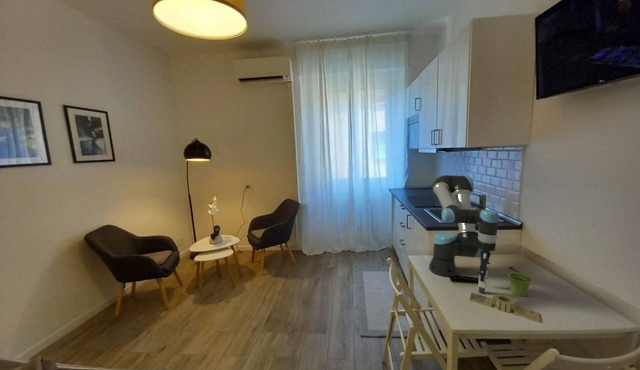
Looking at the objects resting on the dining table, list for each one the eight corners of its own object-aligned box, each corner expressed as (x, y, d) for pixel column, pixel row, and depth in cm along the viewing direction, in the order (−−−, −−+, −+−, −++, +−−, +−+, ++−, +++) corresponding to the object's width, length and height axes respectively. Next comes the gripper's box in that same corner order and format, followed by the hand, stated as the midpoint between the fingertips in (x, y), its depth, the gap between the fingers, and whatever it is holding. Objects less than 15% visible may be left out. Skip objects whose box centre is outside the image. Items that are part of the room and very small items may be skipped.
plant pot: (524, 300, 122) (526, 283, 121) (502, 290, 131) (504, 275, 129) (533, 295, 127) (535, 279, 125) (512, 286, 135) (514, 271, 134)
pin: (476, 292, 129) (479, 267, 127) (477, 289, 132) (480, 264, 130) (485, 295, 126) (488, 269, 124) (486, 292, 129) (488, 266, 127)
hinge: (469, 300, 122) (470, 293, 121) (471, 293, 128) (472, 286, 128) (540, 323, 106) (541, 314, 106) (538, 313, 113) (539, 305, 112)
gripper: (494, 250, 113) (489, 294, 116) (497, 236, 133) (493, 273, 136) (475, 247, 117) (471, 289, 120) (480, 233, 137) (476, 269, 140)
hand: (482, 281), depth 128 cm, fingers open, 13 cm apart
